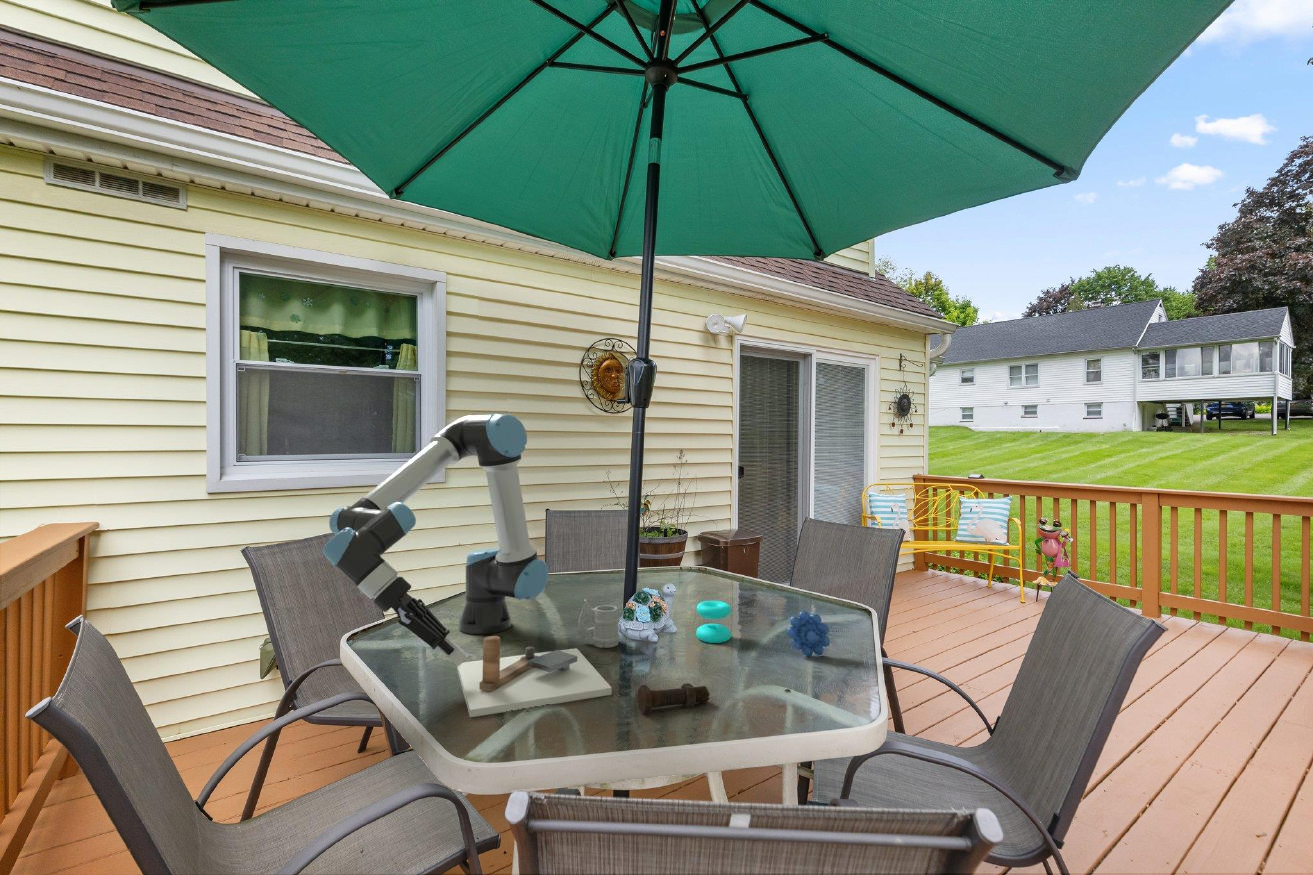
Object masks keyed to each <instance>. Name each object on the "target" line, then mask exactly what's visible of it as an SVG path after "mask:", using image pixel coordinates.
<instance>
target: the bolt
mask: <svg viewBox="0 0 1313 875" xmlns="http://www.w3.org/2000/svg"><path fill="white" fill-rule="evenodd" d="M709 700H710V691H709V689H708V687H706V686H705V685H704V686H703V685H702V686H694V685H692V683H689V682H686V683H684V682H683V684H682V685H681V686H680V687H679V688H670V689H668V688H667V689H659V690H658V689H657V690H655V689H652V690H651V689H650V688H649V686H648V685H647V684H641V685H640V686H639V687H638V689H637V700H636V701H637V706H638V710H639V712H640V713H641V715H651V713H652V712H651V711H652V709H656V708H661V707H671V706H679V705H682V706H683V707H684V708H686V709H690V708H694V707H695V705H696V704H699V703H700V704H701V703H707V702H708V701H709Z"/></svg>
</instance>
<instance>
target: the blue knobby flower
mask: <svg viewBox="0 0 1313 875" xmlns="http://www.w3.org/2000/svg"><path fill="white" fill-rule="evenodd" d="M789 623H790V625H791V626H789V627H788V628H787V630H786V633H787V636H788V637H789V638H790V639H792V640H791V646H792V648H793V649H794V650H796V651H800V650H801V652H802V655H804V656H805V655H806V656H805V657H808V656H810V657H812V656H811V655H813V654H815V655H816V654H817V655H816V656H821V655H822V656H823V654H824V651H825V650H824V647H825V648H827V647H829V646H830V645H831V640H830V638H829V637H828V635H829V633H830V627H829V626H828V625H827V624H826V623H823V622H822V617H821V616H820V615H819V614H817V613H813V614H810V612H808V611H805V610H802V611H801V610H800V612H799V614H798V616H797V615H793V616H791V617H790V619H789Z"/></svg>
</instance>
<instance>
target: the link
mask: <svg viewBox="0 0 1313 875" xmlns="http://www.w3.org/2000/svg"><path fill="white" fill-rule="evenodd" d="M482 641H483V642H482V660H483V679H482V681H481V682H480V684H479V689H480V690H485V691H490V692H491V691H493V690H494V689H496V688H498V687H499V686H501V685H503V684H504V683H506V682H508V681H509V680H511V679H513V678H514V677H516V676H518V675H519V674H521V673H523V672H524V671H526V670H528V669H529V668H531V666H528V660H530V659H533V658H536V657H539V656H536V655H534V654H535V647H533V646H527V647H525V655H526V656H523V657H521V658H520V660H519V661H517V662H515V663H513V664H511V665H510V666H508V667H506V668H504V669H503V670H501V671H500V658H501V637H500V636H499V635H492V636H491V635H490V636H486V637H484V638H482Z"/></svg>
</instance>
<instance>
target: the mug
mask: <svg viewBox="0 0 1313 875" xmlns="http://www.w3.org/2000/svg"><path fill="white" fill-rule="evenodd" d="M590 606H591V604H590V603H589V601H588V600H587V599H584V600H583V607H582V610H581V611H580V615H579V617H578V621H577V626H578V627H577V629H578V630H577V631H578V634H579V635H580V637H581V639H582V640H585V639H586V637H588V636H589V635H592V636H591V640H592V645H593V646H594V647H596V648H600V649H604V648H605V649H609V648H610V649H611V648H614V647H616V646H618V645H619V641H620V636H621V635H620V634H619V623H620V618H619V611H618V607H617V606H615V605H599V606H595V607H594V608H591V607H590ZM589 614H594V616H593V622H592V623H593V627H592V626H591V627H590V628H587V627H586V625H585V622H586V617H587V616H588V615H589Z"/></svg>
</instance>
